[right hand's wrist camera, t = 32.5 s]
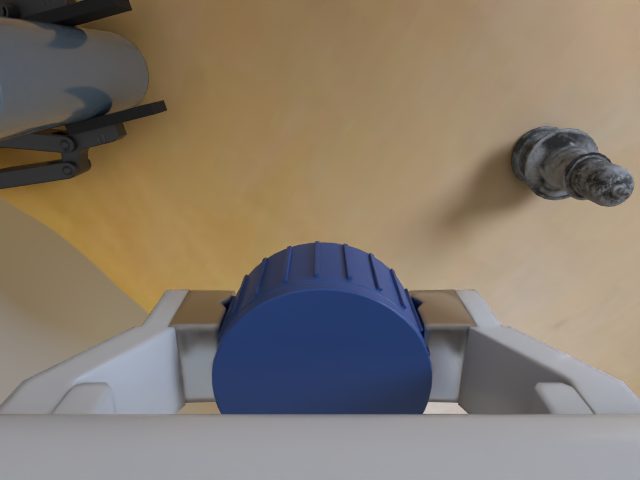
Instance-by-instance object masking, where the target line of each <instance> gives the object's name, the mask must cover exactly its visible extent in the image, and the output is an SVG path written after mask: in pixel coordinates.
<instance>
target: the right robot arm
mask: <svg viewBox="0 0 640 480" xmlns="http://www.w3.org/2000/svg"><path fill="white" fill-rule="evenodd" d="M409 294H410V297H411V300H412V302H413V305H414V307H415V310H416V313H417V315H418V318H419V320H420V323H421V326H422V328H423V331H421V334H422V337H423V339H424V342H425V345H426V348H427V349H429V351H430V356H429V357H430V361H431V366H432V388H431V393H430V397H429V400H428V402H453V403H458V405H459V406H461V407H462V408H463V409H464V410H465V411H466V412H467V413H468V414H176V413H177V412H178V411H179V410H180V409H181V408H182V407H183V406H185V403H191V402H216V400H215V397H214V393H213V387H212V367H213V360H214V357H215V354H216V351H217V348H218V345H219V343H220V339H218V335H219V333H220V330H221V327H222V325H223V322H224V319H225V317H226V314H227V311H228V309H229V306H230V303H231V301H232V298H233V296H236V293H235V291H228V290H190V289H182V290H166V291H165V293H164V294H163V295H162V297H161V298H160V300H159V301H158V303H157V304H156V306H155V307H154V309H153V310H152V311H151V313H150V314H149V316H148V317H147V319H146V320H145V322H144V323H143V325H142V326H141V327H132V328H130V329H128V330H126V331H124V332H122V333H120V334H118V335H116V336H114V337H112V338H110V339H108V340H106V341H104V342H102V343H100V344H98V345H96V346H94V347H91V348H89V349H87V350H85V351H83V352H81V353H79V354H77V355H75V356H73V357H71V358H69V359H67V360H65V361H63V362H61V363H59V364H57V365H55V366H53V367H51V368H48V369H46V370H44V371H42V372H40V373H38V374H36V375H34V376H32V377H30V378H28V379H26V380H24V381H23V382H22V383H21V384H20V385H19V386H18V387H17V388H16V389H15V390H14V391H13V392H12V393H11V394H10V395H9V396H8V398H7V399H6V400H5V401H4V402H3V403H2V404H1V405H0V480H640V399H639V398H638V397H637V396H636V395H635V394H634V393H633V392H632V391H631V390H630V389H629V387H628V386H627V385H626V384H625V383H624V382H623V381H621V380H619V379H617V378H615V377H613V376H611V375H609V374H606V373H604V372H602V371H600V370H598V369H596V368H594V367H592V366H590V365H588V364H586V363H584V362H582V361H580V360H578V359H576V358H573V357H571V356H569V355H567V354H565V353H563V352H561V351H559V350H557V349H555V348H553V347H551V346H549V345H547V344H545V343H543V342H540V341H538V340H536V339H534V338H532V337H530V336H528V335H526V334H524V333H522V332H520V331H518V330H516V329H514V328H512V327H503V326H502V325H501V323H500V322H499V320H498V319H497V318H496V316H495V315H494V313H493V312H492V310H491V309H490V308H489V306H488V305H487V303H486V302H485V301H484V299H483V298H482V296H481V295H480V294H479V292H478V291H477V290H474V289H468V290H417V291H409Z"/></svg>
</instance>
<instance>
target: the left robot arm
mask: <svg viewBox="0 0 640 480" xmlns="http://www.w3.org/2000/svg"><path fill="white" fill-rule="evenodd" d="M131 10H132V8H131V5H130V2H129V0H83V1H80V2H76V1H75V0H0V16H3V17H10V18H17V19H24V20H31V21H38V22H45V23H52V24H59V25H66V26H76V25H80V24H83V23H87V22H91V21H94V20H98V19H102V18H105V17H109V16H112V15H116V14H120V13H123V12H127V11H131ZM166 110H167V108H166V105H165V103H164V100H163V101H158V102H154V103H150V104H146V105H142V106H138V107H134V108H130V109H126V110H122V111H118V112H114V113H110V114H106V115H103V116H99V117H95V118H91V119H87V120H83V121H79V122H75V123H71V124H67V125H65V126H66V129H67V130H58V129H46V130H42V131H38V132H34V133H30V134H26V135H22V136H18V137H13V138H9V139H5V140H1V141H0V147H4V148H16V149H27V150H38V151H49V152H60V153H62V159H60V160H54V161H47V162H41V163H34V164H28V165H21V166H15V167H8V168H3V169H0V189H4V188H11V187H17V186H24V185H31V184H37V183H44V182H50V181H57V180H64V179H70V178H73V177H75V176H77V175H80V174H82V173H84V172H86V171H88V170H89V169H90V168H91V162H90V160H89V159H88V155H87V153H88V149H89V148H90V147H93V146H97V145H101V144H106V143H110V142H114V141H116V140H119V139H122V138H123V137H124V136H125V135H127V133H126V131H125V128H124V125H123V123H122V122H125V121H129V120H133V119H137V118H141V117H145V116H149V115H153V114H157V113H160V112H163V111H166Z"/></svg>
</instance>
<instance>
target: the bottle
mask: <svg viewBox="0 0 640 480" xmlns="http://www.w3.org/2000/svg"><path fill="white" fill-rule="evenodd" d="M148 80H149V76H148V69H147V65H146V62H145V60H144V58H143V56H142V54H141V52H140V51H139V50H138V48H137V47H136V46H135V45H134V44H133V43H132V42H131V41H129V40H128V39H127V38H125V37H123V36H121V35H119V34H117V33H113V32H108V31H101V30H94V29H87V28H80V27H73V26H66V25H59V24H52V23H45V22H38V21H31V20H24V19H17V18H10V17H3V16H0V141H1V140H5V139H9V138H13V137H18V136H22V135H26V134H30V133H34V132H38V131H42V130H46V129H50V128H54V127H59V126H63V125H67V124H71V123H75V122H79V121H83V120H87V119H91V118H95V117H99V116H103V115H106V114H110V113H114V112H118V111H122V110H126V109H130V108H132V107H134V106H135V105H137V104H138V103H139V102H140V101H141V100H142V98H143V97H144V95H145V93H146V91H147V87H148Z"/></svg>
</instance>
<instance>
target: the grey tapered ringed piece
mask: <svg viewBox="0 0 640 480" xmlns="http://www.w3.org/2000/svg"><path fill="white" fill-rule="evenodd" d="M512 168H513V171H514V173H515V175H516V176H517V178H518V179H520V180H521V181H522V182H524V183H526V184H528V186H529V187H530V189H531V190H532V191H533V192H534V193H535V194H536V195H538V196H540V197H542V198H544V199H550V200H560V199H565V198H568V197H573V198H575V199H578V200H590V201H592V202H594V203H596V204H598V205H601V206H607V207H611V206H616V205H619V204H621V203H622V202H624V201H625V200H626V199H628V198H629V196H630V195H631V194H632V191H633V188H634V178H633V176H632V174H631V173H630V172H629V171H628V170H627V169H625V168H623V167H621V166H618V165H615V164H612V163H611V161H610V160H609V159H608V158H607V157H606V156H605V155H603V154H601V153H598V148H597V146H596V144H595V142H594V140H593V139H592V138H591V137H590V136H589V135H588V134H587V133H585V132H583V131H580V130H577V129H571V128H567V129H558V128H556V127H549V126H546V127H539V128H536V129H534V130H531V131H530V132H528V133H527V134H525V135H524V136H523V137H522V138H521V139H520V140H519V142H518V143H517V145H516V147H515V148H514V151H513V155H512Z"/></svg>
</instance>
